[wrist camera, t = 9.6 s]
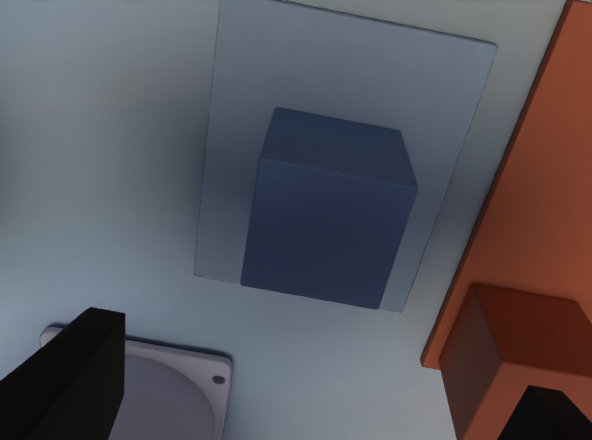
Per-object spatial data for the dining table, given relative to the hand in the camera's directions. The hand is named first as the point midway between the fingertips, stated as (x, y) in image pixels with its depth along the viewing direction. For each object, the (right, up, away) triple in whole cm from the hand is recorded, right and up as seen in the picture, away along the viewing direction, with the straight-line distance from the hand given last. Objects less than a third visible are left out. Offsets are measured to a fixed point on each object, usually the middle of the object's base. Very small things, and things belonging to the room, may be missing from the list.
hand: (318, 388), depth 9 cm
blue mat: (+1, +5, +8) cm, 9 cm away
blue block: (+1, +5, +8) cm, 9 cm away
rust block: (+8, -1, +11) cm, 13 cm away
